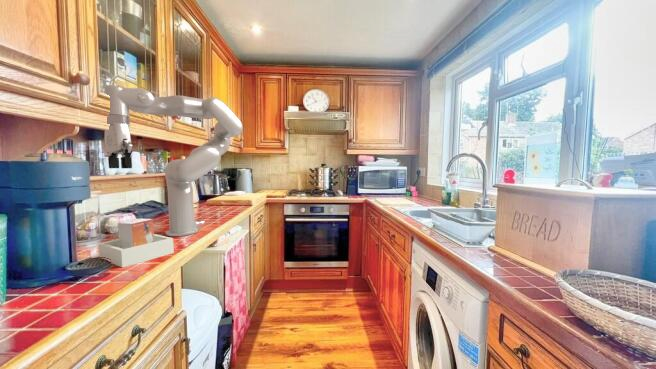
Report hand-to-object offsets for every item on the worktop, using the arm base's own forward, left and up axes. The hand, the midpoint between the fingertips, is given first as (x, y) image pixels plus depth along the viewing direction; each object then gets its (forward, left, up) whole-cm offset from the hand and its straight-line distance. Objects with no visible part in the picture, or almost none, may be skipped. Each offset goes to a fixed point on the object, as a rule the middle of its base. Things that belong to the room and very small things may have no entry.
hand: (120, 168), depth 102 cm
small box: (+5, +20, -28) cm, 34 cm away
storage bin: (+5, +20, -28) cm, 35 cm away
